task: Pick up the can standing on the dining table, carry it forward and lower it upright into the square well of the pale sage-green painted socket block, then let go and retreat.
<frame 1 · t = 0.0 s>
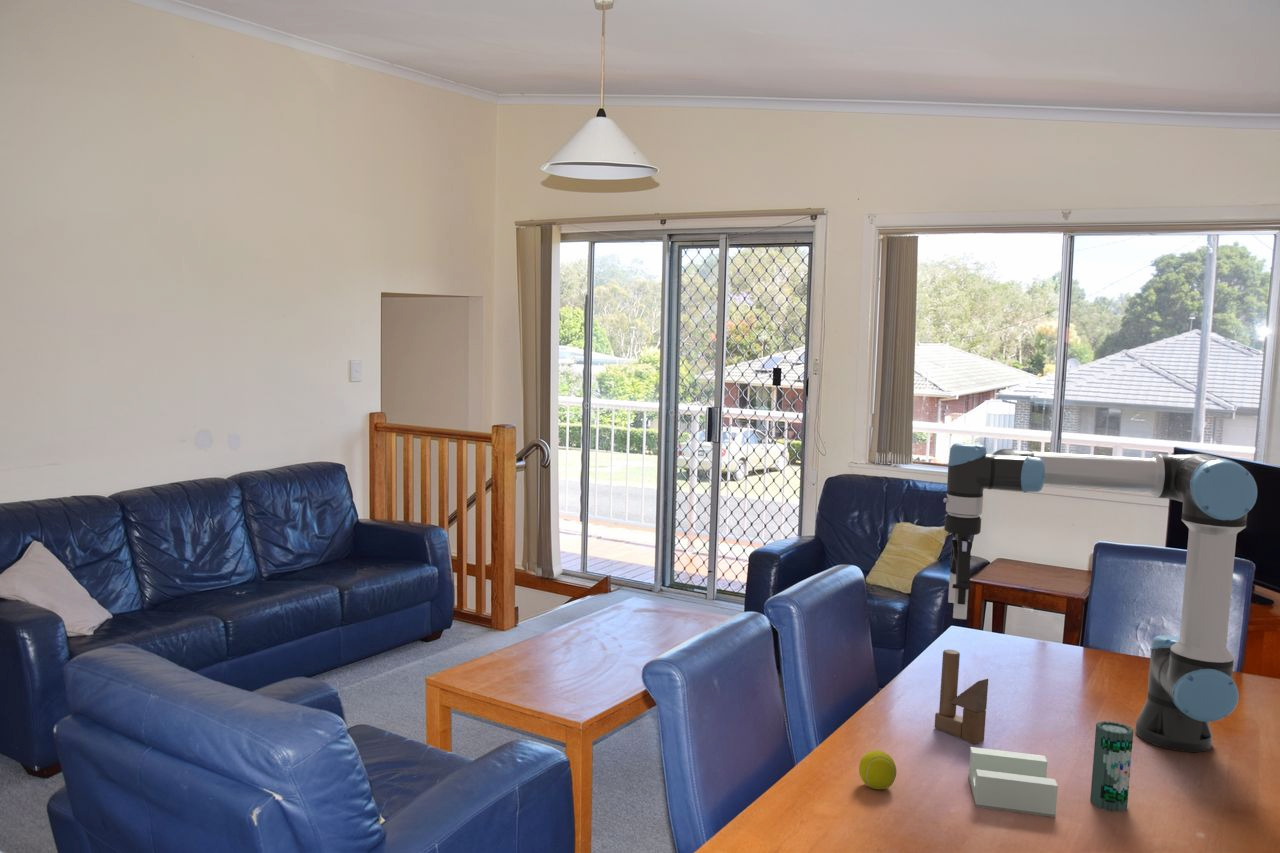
hand: (956, 610, 221), 28 cm above the table, fingers open, 13 cm apart
tennis ball: (876, 788, 195), on the table
wooden block: (958, 735, 223), on the table
can: (1108, 805, 191), on the table
socket block: (1010, 795, 193), on the table
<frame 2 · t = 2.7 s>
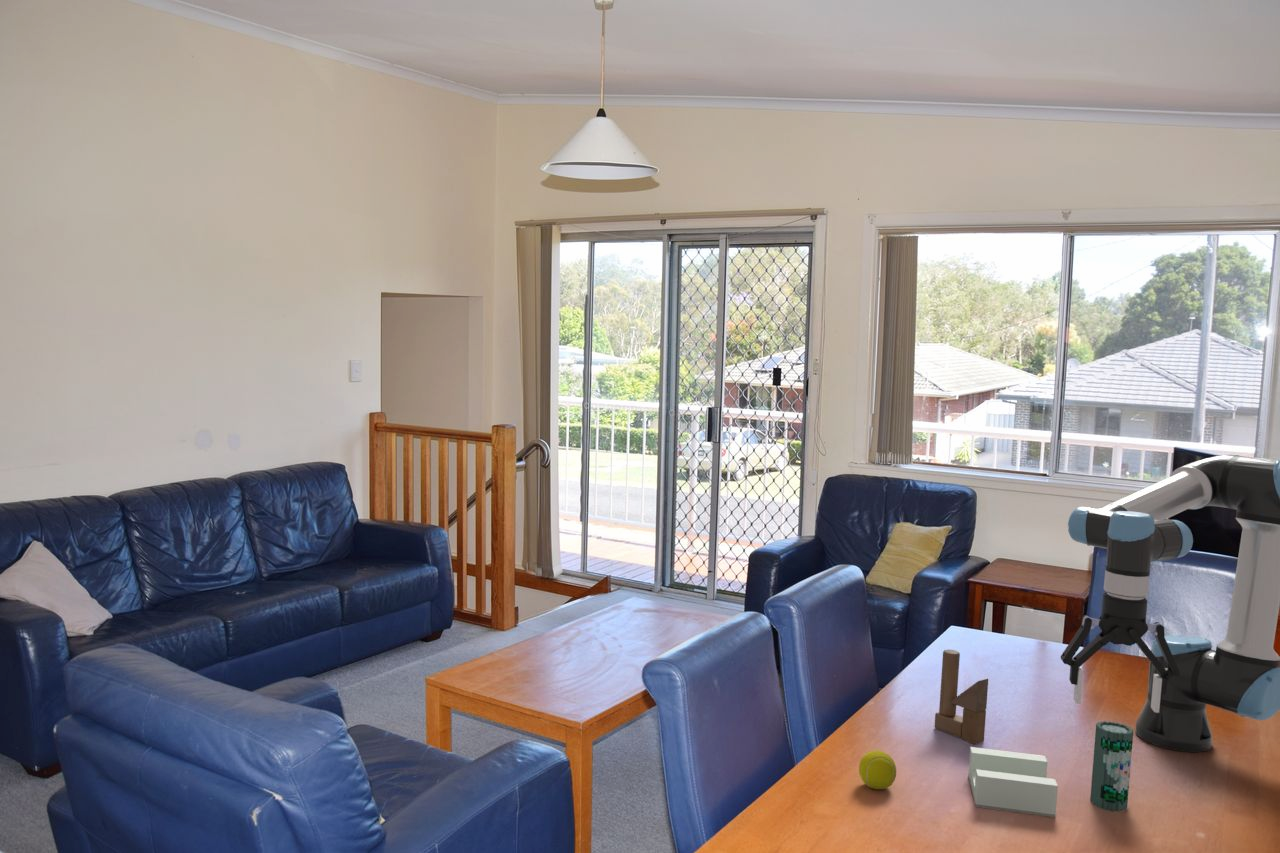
hand: (1115, 705, 190), 19 cm above the table, fingers open, 13 cm apart
nothing on the table moved.
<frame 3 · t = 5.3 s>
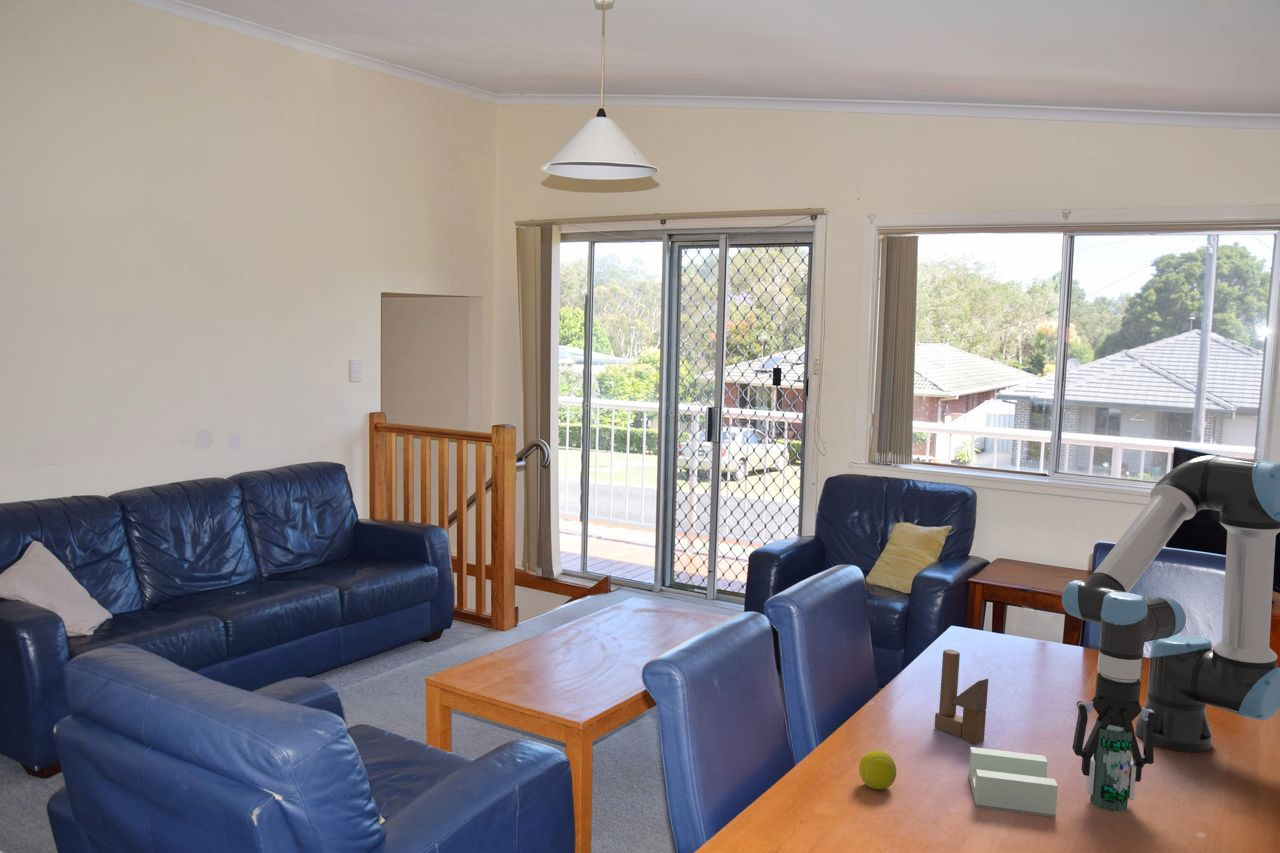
hand: (1109, 794, 191), 2 cm above the table, fingers closed on can, 6 cm apart
can: (1108, 805, 191), on the table, touching gripper
everything else where it was.
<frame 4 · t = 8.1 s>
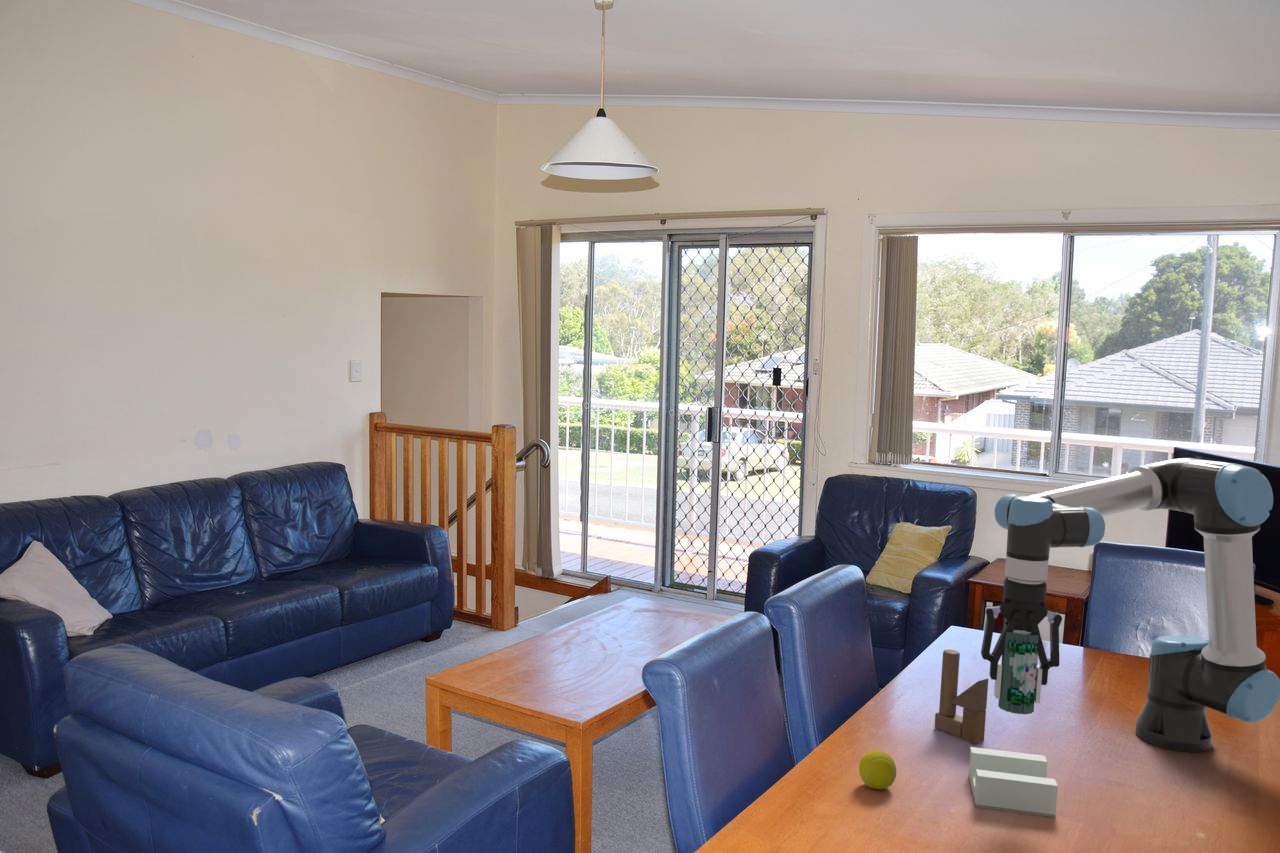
hand: (1016, 698, 192), 19 cm above the table, fingers closed on can, 6 cm apart
can: (1015, 709, 192), point 17 cm above the table, touching gripper
everything else where it was.
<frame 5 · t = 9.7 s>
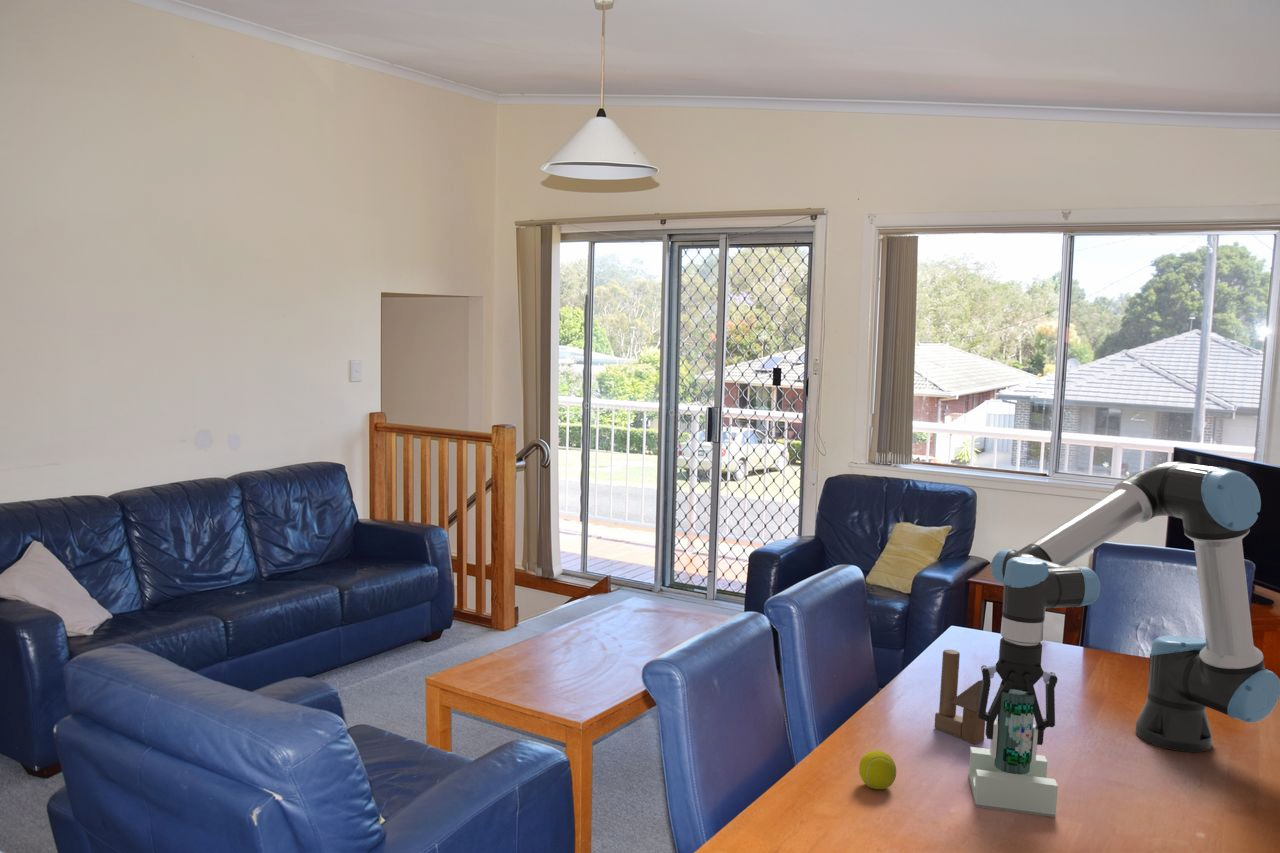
hand: (1012, 757, 193), 8 cm above the table, fingers closed on can, 6 cm apart
can: (1011, 768, 193), point 5 cm above the table, touching gripper
everything else where it was.
when the fingers open (3 cm above the table, at t = 11.2 s): can stays where it is, resting on socket block.
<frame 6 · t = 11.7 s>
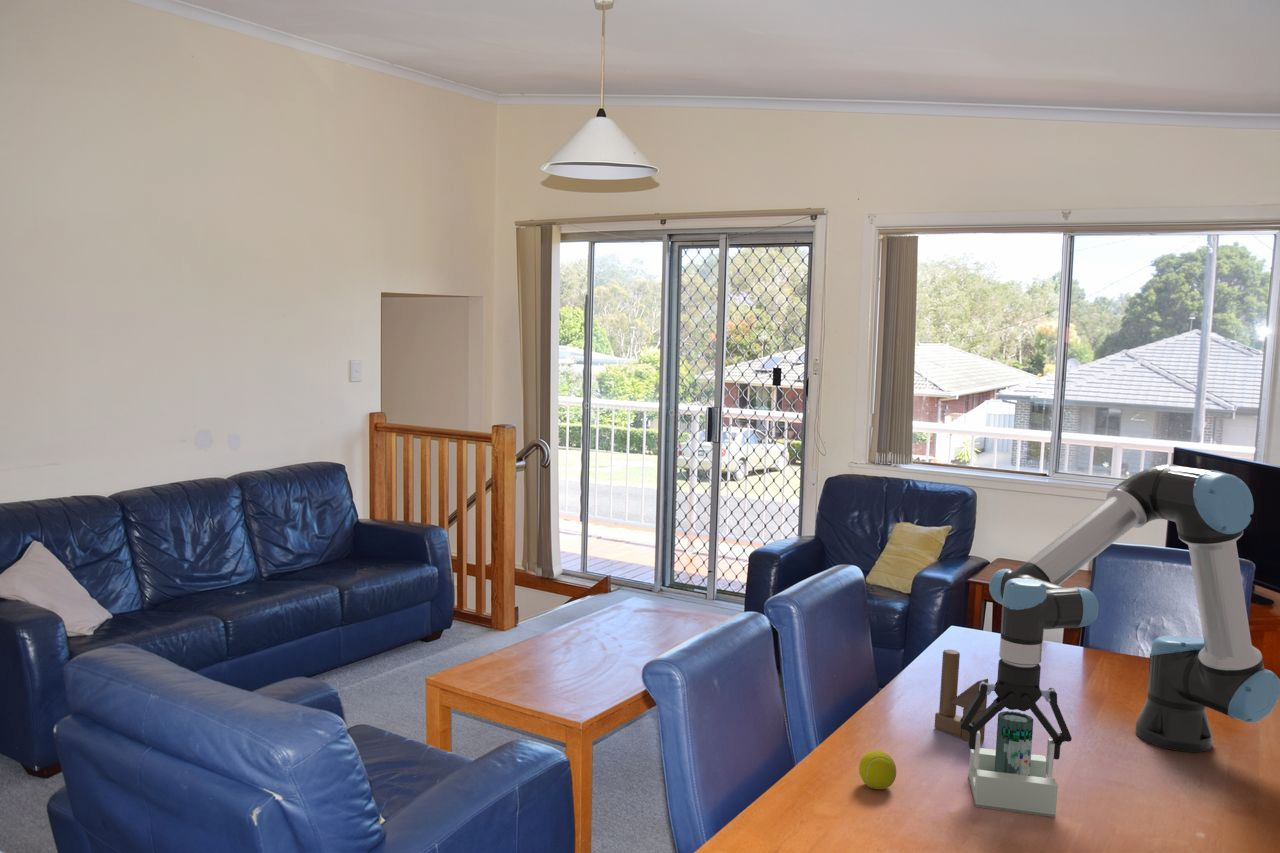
hand: (1011, 770, 193), 5 cm above the table, fingers open, 13 cm apart
can: (1010, 794, 193), resting on socket block
everything else where it was.
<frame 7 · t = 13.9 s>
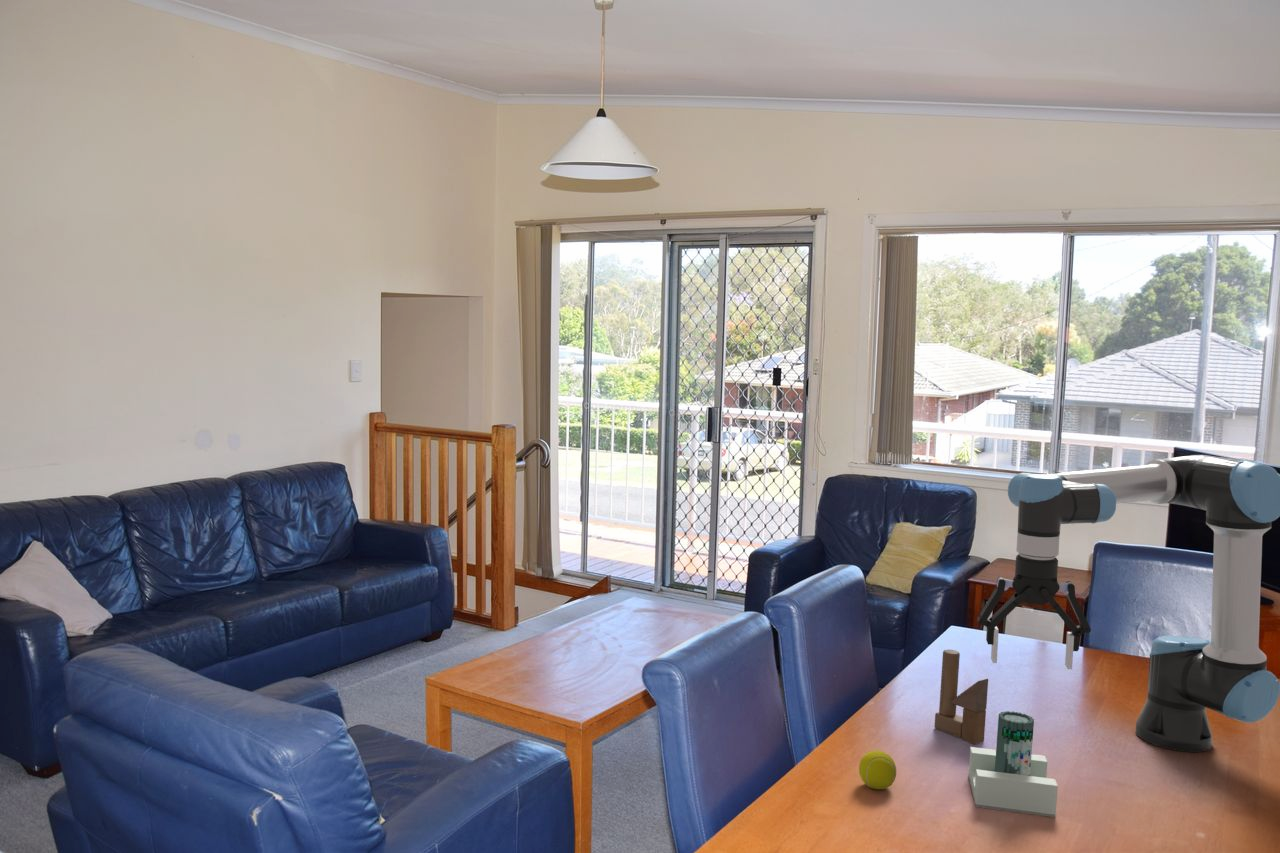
hand: (1030, 664, 194), 25 cm above the table, fingers open, 13 cm apart
nothing on the table moved.
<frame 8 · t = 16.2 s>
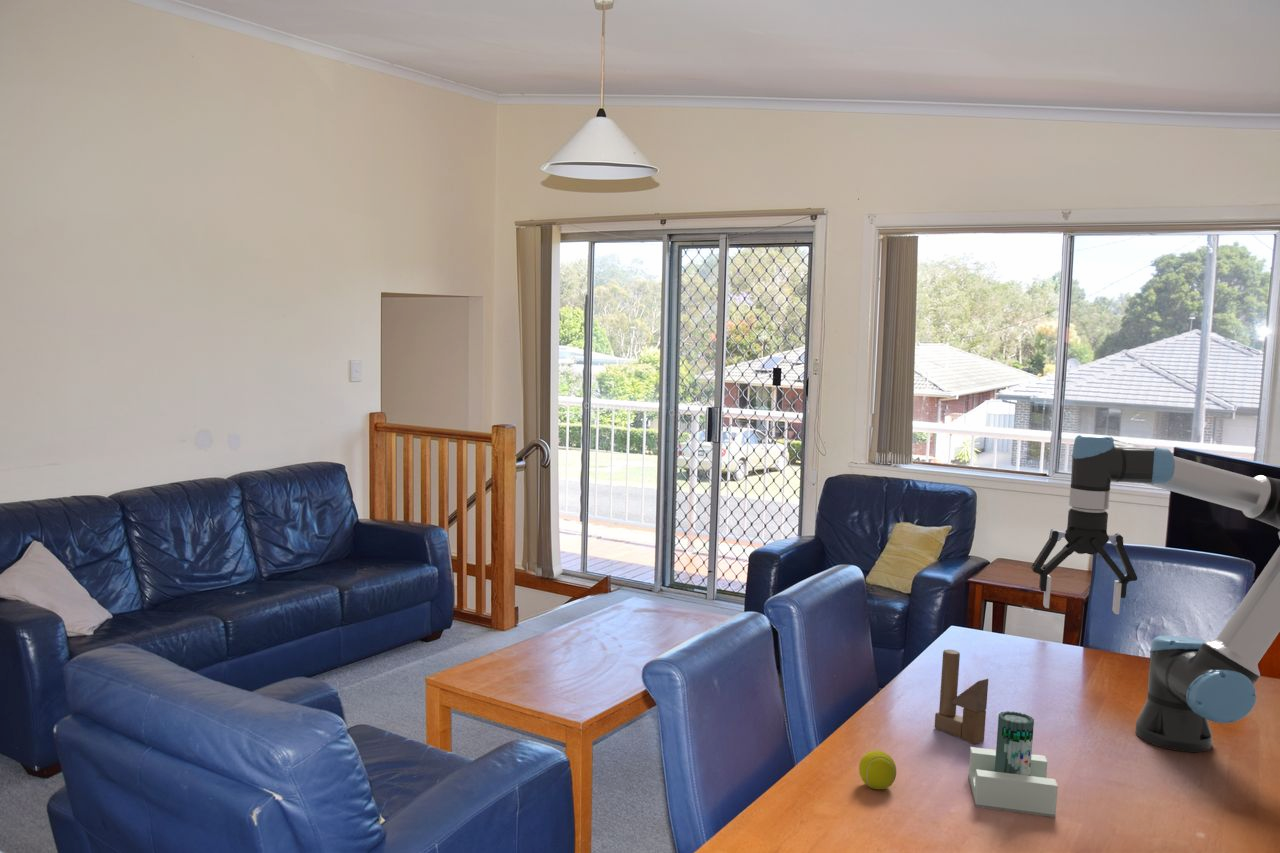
hand: (1080, 609, 211), 32 cm above the table, fingers open, 13 cm apart
nothing on the table moved.
at the end: can 0.1 cm off-centre on the socket block, point 0.3 cm above the socket block's base; can tilted 0°; the gripper is holding nothing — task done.
